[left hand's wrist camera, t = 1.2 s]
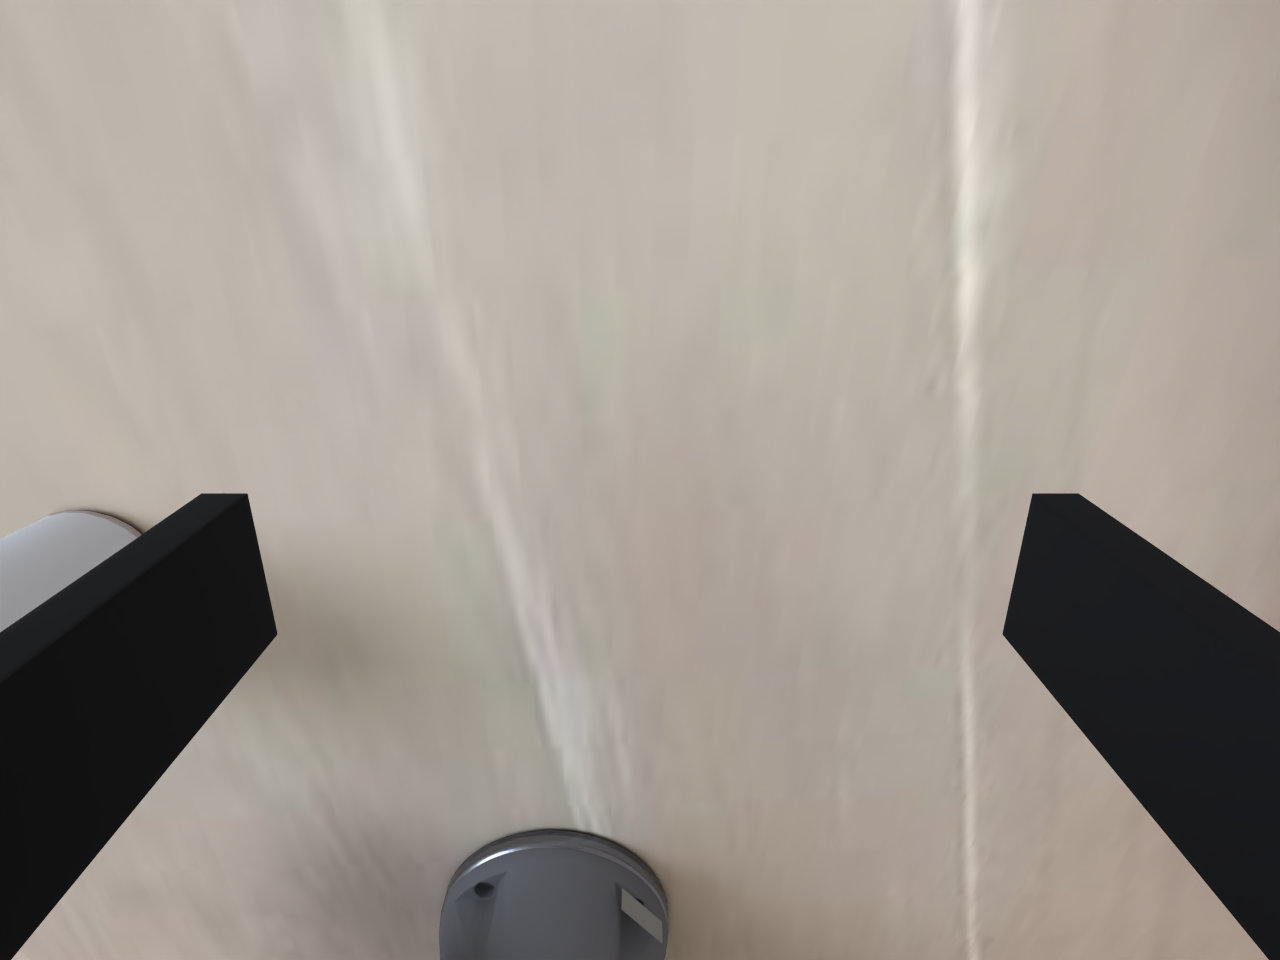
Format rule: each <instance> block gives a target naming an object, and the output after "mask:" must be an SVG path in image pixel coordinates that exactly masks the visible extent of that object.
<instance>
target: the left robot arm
mask: <svg viewBox="0 0 1280 960" xmlns="http://www.w3.org/2000/svg"><path fill="white" fill-rule="evenodd" d="M276 635H277V630H276V625H275V620H274V616H273V611H272V606H271V602H270V597H269V592H268V588H267V583H266V578H265V574H264V569H263V564H262V560H261V555H260V550H259V546H258V541H257V536H256V531H255V527H254V522H253V517H252V513H251V508H250V503H249V499H248V494H200V495H199V496H197V497H196V498H194V499H193V500H192V501H190V502H189V503H187V504H186V505H184V506H183V507H181V508H180V509H179V510H177V511H176V512H174V513H173V514H171V515H170V516H168V517H167V518H165V519H164V520H163V521H161V522H160V523H158V524H157V525H155V526H154V527H152V528H151V529H150V530H148V531H147V532H145V533H144V534H142V535H141V536H139V537H138V538H136V539H135V540H134V541H132V542H131V543H129V544H128V545H126V546H125V547H123V548H122V549H120V550H119V551H118V552H116V553H115V554H113V555H112V556H110V557H109V558H107V559H106V560H105V561H103V562H102V563H100V564H99V565H97V566H96V567H94V568H93V569H91V570H90V571H89V572H87V573H86V574H84V575H83V576H81V577H80V578H78V579H77V580H76V581H74V582H73V583H71V584H70V585H68V586H67V587H65V588H64V589H62V590H61V591H60V592H58V593H57V594H55V595H54V596H52V597H51V598H49V599H48V600H46V601H45V602H44V603H42V604H41V605H39V606H38V607H36V608H35V609H33V610H32V611H31V612H29V613H28V614H26V615H25V616H23V617H22V618H20V619H19V620H17V621H16V622H15V623H13V624H12V625H10V626H9V627H7V628H6V629H4V630H3V631H2V632H0V960H11V959H12V958H13V957H14V955H15V954H16V953H17V952H18V951H19V949H20V948H21V947H22V946H23V944H24V943H25V942H26V941H27V940H28V938H29V937H30V936H31V935H32V933H33V932H34V931H35V930H36V929H37V927H38V926H39V925H40V924H41V922H42V921H43V920H44V919H45V918H46V916H47V915H48V914H49V913H50V911H51V910H52V909H53V908H54V907H55V905H56V904H57V903H58V902H59V900H60V899H61V898H62V897H63V896H64V894H65V893H66V892H67V891H68V889H69V888H70V887H71V886H72V885H73V883H74V882H75V881H76V880H77V878H78V877H79V876H80V875H81V874H82V872H83V871H84V870H85V869H86V867H87V866H88V865H89V864H90V863H91V861H92V860H93V859H94V858H95V856H96V855H97V854H98V853H99V852H100V850H101V849H102V848H103V847H104V845H105V844H106V843H107V842H108V841H109V839H110V838H111V837H112V836H113V834H114V833H115V832H116V831H117V830H118V828H119V827H120V826H121V825H122V824H123V822H124V821H125V820H126V819H127V817H128V816H129V815H130V814H131V813H132V811H133V810H134V809H135V808H136V806H137V805H138V804H139V803H140V802H141V800H142V799H143V798H144V797H145V795H146V794H147V793H148V792H149V791H150V789H151V788H152V787H153V786H154V784H155V783H156V782H157V781H158V780H159V778H160V777H161V776H162V775H163V773H164V772H165V771H166V770H167V769H168V767H169V766H170V765H171V764H172V762H173V761H174V760H175V759H176V758H177V756H178V755H179V754H180V753H181V751H182V750H183V749H184V748H185V747H186V745H187V744H188V743H189V742H190V740H191V739H192V738H193V737H194V736H195V734H196V733H197V732H198V731H199V729H200V728H201V727H202V726H203V725H204V723H205V722H206V721H207V720H208V718H209V717H210V716H211V715H212V714H213V712H214V711H215V710H216V709H217V707H218V706H219V705H220V704H221V703H222V701H223V700H224V699H225V698H226V696H227V695H228V694H229V693H230V692H231V690H232V689H233V688H234V687H235V685H236V684H237V683H238V682H239V681H240V679H241V678H242V677H243V676H244V675H245V673H246V672H247V671H248V670H249V668H250V667H251V666H252V665H253V664H254V662H255V661H256V660H257V659H258V657H259V656H260V655H261V654H262V653H263V651H264V650H265V649H266V648H267V646H268V645H269V644H270V643H271V642H272V640H273V639H274V638H275V637H276ZM1003 635H1004V637H1005V638H1006V639H1007V640H1008V642H1009V643H1010V644H1011V645H1012V646H1013V648H1014V649H1015V650H1016V651H1017V653H1018V654H1019V655H1020V656H1021V657H1022V659H1023V660H1024V661H1025V662H1026V664H1027V665H1028V666H1029V667H1030V668H1031V670H1032V671H1033V672H1034V673H1035V675H1036V676H1037V677H1038V678H1039V679H1040V681H1041V682H1042V683H1043V684H1044V685H1045V687H1046V688H1047V689H1048V690H1049V692H1050V693H1051V694H1052V695H1053V696H1054V698H1055V699H1056V700H1057V701H1058V703H1059V704H1060V705H1061V706H1062V707H1063V709H1064V710H1065V711H1066V712H1067V714H1068V715H1069V716H1070V717H1071V718H1072V720H1073V721H1074V722H1075V723H1076V725H1077V726H1078V727H1079V728H1080V729H1081V731H1082V732H1083V733H1084V734H1085V736H1086V737H1087V738H1088V739H1089V740H1090V742H1091V743H1092V744H1093V745H1094V747H1095V748H1096V749H1097V750H1098V751H1099V753H1100V754H1101V755H1102V756H1103V758H1104V759H1105V760H1106V761H1107V762H1108V764H1109V765H1110V766H1111V767H1112V769H1113V770H1114V771H1115V772H1116V773H1117V775H1118V776H1119V777H1120V778H1121V780H1122V781H1123V782H1124V783H1125V784H1126V786H1127V787H1128V788H1129V789H1130V791H1131V792H1132V793H1133V794H1134V795H1135V797H1136V798H1137V799H1138V800H1139V802H1140V803H1141V804H1142V805H1143V806H1144V808H1145V809H1146V810H1147V811H1148V813H1149V814H1150V815H1151V816H1152V817H1153V819H1154V820H1155V821H1156V822H1157V824H1158V825H1159V826H1160V827H1161V828H1162V830H1163V831H1164V832H1165V833H1166V834H1167V836H1168V837H1169V838H1170V839H1171V841H1172V842H1173V843H1174V844H1175V845H1176V847H1177V848H1178V849H1179V850H1180V852H1181V853H1182V854H1183V855H1184V856H1185V858H1186V859H1187V860H1188V861H1189V863H1190V864H1191V865H1192V866H1193V867H1194V869H1195V870H1196V871H1197V872H1198V874H1199V875H1200V876H1201V877H1202V878H1203V880H1204V881H1205V882H1206V883H1207V885H1208V886H1209V887H1210V888H1211V889H1212V891H1213V892H1214V893H1215V894H1216V896H1217V897H1218V898H1219V899H1220V900H1221V902H1222V903H1223V904H1224V905H1225V907H1226V908H1227V909H1228V910H1229V911H1230V913H1231V914H1232V915H1233V916H1234V918H1235V919H1236V920H1237V921H1238V922H1239V924H1240V925H1241V926H1242V927H1243V929H1244V930H1245V931H1246V932H1247V933H1248V935H1249V936H1250V937H1251V938H1252V940H1253V941H1254V942H1255V943H1256V944H1257V946H1258V947H1259V948H1260V949H1261V951H1262V952H1263V953H1264V954H1265V955H1266V957H1267V958H1268V959H1269V960H1280V632H1278V631H1277V630H1276V629H1274V628H1273V627H1271V626H1270V625H1268V624H1267V623H1265V622H1264V621H1263V620H1261V619H1260V618H1258V617H1257V616H1255V615H1254V614H1252V613H1251V612H1249V611H1248V610H1247V609H1245V608H1244V607H1242V606H1241V605H1239V604H1238V603H1236V602H1235V601H1234V600H1232V599H1231V598H1229V597H1228V596H1226V595H1225V594H1223V593H1222V592H1220V591H1219V590H1218V589H1216V588H1215V587H1213V586H1212V585H1210V584H1209V583H1207V582H1206V581H1204V580H1203V579H1202V578H1200V577H1199V576H1197V575H1196V574H1194V573H1193V572H1191V571H1190V570H1189V569H1187V568H1186V567H1184V566H1183V565H1181V564H1180V563H1178V562H1177V561H1175V560H1174V559H1173V558H1171V557H1170V556H1168V555H1167V554H1165V553H1164V552H1162V551H1161V550H1160V549H1158V548H1157V547H1155V546H1154V545H1152V544H1151V543H1149V542H1148V541H1146V540H1145V539H1144V538H1142V537H1141V536H1139V535H1138V534H1136V533H1135V532H1133V531H1132V530H1130V529H1129V528H1128V527H1126V526H1125V525H1123V524H1122V523H1120V522H1119V521H1117V520H1116V519H1115V518H1113V517H1112V516H1110V515H1109V514H1107V513H1106V512H1104V511H1103V510H1101V509H1100V508H1099V507H1097V506H1096V505H1094V504H1093V503H1091V502H1090V501H1088V500H1087V499H1086V498H1084V497H1083V496H1081V495H1080V494H1032V499H1031V503H1030V508H1029V513H1028V517H1027V522H1026V527H1025V531H1024V536H1023V541H1022V546H1021V550H1020V555H1019V560H1018V564H1017V569H1016V574H1015V578H1014V583H1013V588H1012V592H1011V597H1010V602H1009V606H1008V611H1007V616H1006V620H1005V625H1004V630H1003ZM667 939H668V907H667V900H666V897H665V893H664V891H663V889H662V886H661V884H660V883H659V881H658V879H657V878H656V876H655V875H654V874H653V872H652V871H651V870H650V869H649V868H648V867H647V866H646V865H645V864H644V863H643V862H642V861H641V860H640V859H638V858H637V857H636V856H634V855H633V854H632V853H630V852H628V851H627V850H625V849H623V848H622V847H620V846H618V845H616V844H614V843H612V842H609V841H606V840H604V839H601V838H598V837H595V836H591V835H587V834H582V833H577V832H570V831H558V830H543V831H532V832H525V833H520V834H516V835H511V836H508V837H505V838H502V839H499V840H497V841H495V842H492V843H490V844H488V845H486V846H484V847H483V848H481V849H480V850H478V851H476V852H475V853H474V854H472V855H471V856H470V857H469V858H468V859H466V860H465V861H464V863H463V864H462V865H461V866H460V867H459V868H458V870H457V871H456V872H455V874H454V876H453V877H452V879H451V881H450V884H449V886H448V889H447V893H446V896H445V900H444V904H443V907H442V911H441V919H440V928H439V944H440V960H664V958H665V954H666V948H667Z"/></svg>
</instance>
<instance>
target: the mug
mask: <svg viewBox="0 0 1280 960" xmlns="http://www.w3.org/2000/svg"><path fill="white" fill-rule="evenodd" d="M141 535H142V534H141V533H139V532H138V531H137V530H135V529H134V528H133V527H132V526H130V525H128V524H126V523H124V522H122V521H120V520H118V519H116V518H114V517H111V516H108V515H104V514H100V513H96V512H93V511H74V510H68V511H63V512H58V513H53V514H50V515H48V516H46V517H44V518H42V519H40V520H38V521H36V522H34V523H32V524H30V525H28V526H26V527H23V528H21V529H19V530H17V531H15V532H13V533H11V534H9V535H7V536H5V537H3V538H1V539H0V632H2V631H3V630H4V629H6V628H7V627H9V626H10V625H12V624H13V623H15V622H16V621H17V620H19V619H20V618H22V617H23V616H25V615H26V614H28V613H29V612H31V611H32V610H33V609H35V608H36V607H38V606H39V605H41V604H42V603H44V602H45V601H46V600H48V599H49V598H51V597H52V596H54V595H55V594H57V593H58V592H60V591H61V590H62V589H64V588H65V587H67V586H68V585H70V584H71V583H73V582H74V581H76V580H77V579H78V578H80V577H81V576H83V575H84V574H86V573H87V572H89V571H90V570H91V569H93V568H94V567H96V566H97V565H99V564H100V563H102V562H103V561H105V560H106V559H107V558H109V557H110V556H112V555H113V554H115V553H116V552H118V551H119V550H120V549H122V548H123V547H125V546H126V545H128V544H129V543H131V542H132V541H134V540H135V539H136V538H138V537H139V536H141Z"/></svg>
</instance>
